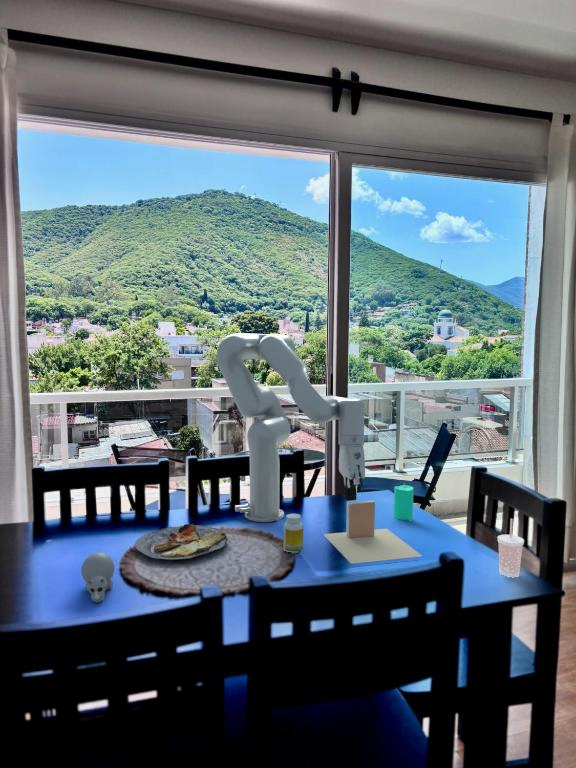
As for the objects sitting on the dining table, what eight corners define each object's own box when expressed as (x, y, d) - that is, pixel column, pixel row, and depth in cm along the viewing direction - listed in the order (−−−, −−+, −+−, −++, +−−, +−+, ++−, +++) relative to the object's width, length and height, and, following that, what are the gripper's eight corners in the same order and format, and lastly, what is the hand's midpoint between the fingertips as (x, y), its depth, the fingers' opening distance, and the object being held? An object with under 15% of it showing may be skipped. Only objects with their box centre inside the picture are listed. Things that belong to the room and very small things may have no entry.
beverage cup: (508, 580, 139) (511, 524, 138) (490, 571, 144) (492, 516, 143) (528, 576, 141) (530, 521, 140) (509, 567, 147) (511, 513, 146)
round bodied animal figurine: (79, 615, 126) (76, 587, 122) (84, 574, 136) (81, 547, 132) (114, 611, 127) (111, 583, 123) (116, 571, 138) (114, 544, 134)
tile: (348, 538, 164) (349, 504, 163) (346, 536, 166) (346, 502, 165) (374, 536, 166) (375, 502, 165) (372, 533, 168) (372, 500, 167)
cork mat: (351, 567, 146) (351, 563, 146) (323, 537, 167) (323, 534, 167) (422, 559, 151) (422, 556, 151) (386, 531, 172) (386, 528, 172)
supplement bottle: (280, 548, 159) (280, 514, 158) (297, 545, 161) (297, 511, 160) (288, 555, 154) (288, 520, 153) (306, 551, 156) (306, 517, 155)
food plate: (195, 525, 176) (194, 514, 176) (244, 547, 160) (244, 534, 159) (120, 548, 159) (119, 536, 158) (166, 575, 142) (166, 561, 142)
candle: (411, 517, 186) (412, 480, 185) (413, 523, 180) (414, 485, 179) (392, 516, 187) (393, 480, 186) (394, 522, 181) (395, 485, 180)
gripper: (373, 443, 166) (372, 506, 167) (353, 434, 180) (352, 492, 181) (348, 444, 163) (348, 508, 165) (330, 435, 178) (330, 494, 179)
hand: (350, 499), depth 173 cm, fingers closed
